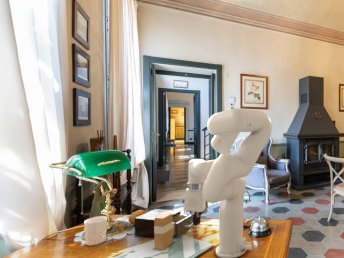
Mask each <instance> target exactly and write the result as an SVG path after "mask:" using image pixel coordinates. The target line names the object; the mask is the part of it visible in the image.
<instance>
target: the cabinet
mask: <svg viewBox="0 0 344 258" xmlns="http://www.w3.org/2000/svg"><path fill="white" fill-rule="evenodd" d="M163 213H173V216H175V215H177V214H180V215H182V214H181V213H182V212H181V210H175V209H174V210H173V209H163V208H154V209H152V210H150V211H148V212H146V213H145V214H143V215H141V216H138V217H136V218H135V225H134V236H135V237H141V238H150V239H154V218H155V217H157V216H159V215H161V214H163Z"/></svg>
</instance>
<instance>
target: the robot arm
mask: <svg viewBox="0 0 344 258" xmlns="http://www.w3.org/2000/svg"><path fill="white" fill-rule="evenodd" d="M206 128H207V131H208V132H209V134H210V135H213V137H212V139H211V141H210V146H211V148H212V149H213V150H214V151H215V152H217V153H219V156H218V157H217V158H216V159H209V160H205V159H203V158H194V159H193V158H192V159H190V160H189V161H188V177H187V182H186V186H187V188H186V189H185V194H184V205H183V208H184V210H185V212H187V213H190V215H192V217H193V227H196V226H199V225H201V217H202V215H204V214H207V213H208V212H209V211H208V208H209V203H210V204H216V203H219V202H220V205H219V213H218V217H219V219H218V221H219V231H218V232H219V241H218V242H219V244H218V245H217V246H216V248H215V255H216V256H217V257H218V258H238V257H241V256H243V255H245V253H247V251H252V250H253V245H252V244H253V243H252V242H251V241H247V240H246V239H247V238H246V237H245V236H244V200H245V194H246V187H247V183H246V179H245V177H247V176H249V175H250V173H252V171H253V168H254V167H255V164H256V163H257V161H258V159H259V158H260V156H261V154H262V152H263V150H264V149H265V146H266V145H267V144H268V142H269V140H270V138H271V135H272V131H273V124H272V120H271V117H270V116H269V114H268V113H266V112H264V111H263V110H259V109H251V108H249V109H248V108H238V107H235V108H230V109H226V110H223V111H219V112H215V113H214V114H212V115H211V116H210V117H209V118H208V121H207V124H206ZM240 133H248V134H247V136H245V138H243V139H242V141H241V142H240V144H239V146H238V148H237V150H236V151H235V152H234V153H232V152H231V148H232V147H233V145H234V143H235V141H236V140H237V138H238V137H239V135H240Z"/></svg>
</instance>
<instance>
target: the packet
mask: <svg viewBox="0 0 344 258" xmlns="http://www.w3.org/2000/svg"><path fill="white" fill-rule="evenodd" d="M153 239H154V250H161V251H162V250H165V249H166V248H168V247H169V246H170V245H172V244H173V243H174V236H173V213H163V214H161V215H159V216H157V217H155V218H154V238H153Z"/></svg>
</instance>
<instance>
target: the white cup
mask: <svg viewBox="0 0 344 258" xmlns="http://www.w3.org/2000/svg"><path fill="white" fill-rule="evenodd" d="M83 225H84V227H83V228H84V239H85V245H86V246H96V245H100V244H102V243H104V242H105V241H106V240H107V232H108V231H107V217H106V216H98V217H93V218H90V219H89V218H87V219H86V220H84V222H83Z"/></svg>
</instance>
